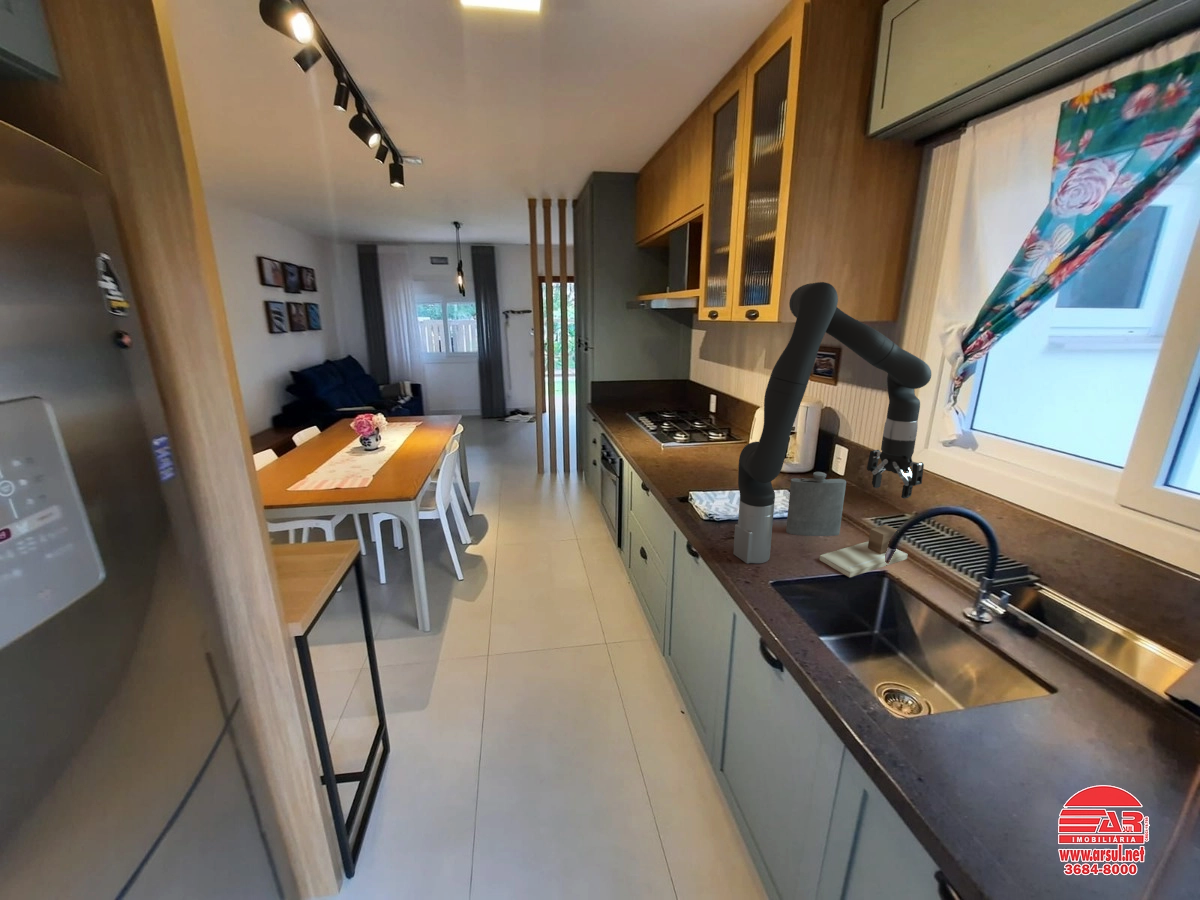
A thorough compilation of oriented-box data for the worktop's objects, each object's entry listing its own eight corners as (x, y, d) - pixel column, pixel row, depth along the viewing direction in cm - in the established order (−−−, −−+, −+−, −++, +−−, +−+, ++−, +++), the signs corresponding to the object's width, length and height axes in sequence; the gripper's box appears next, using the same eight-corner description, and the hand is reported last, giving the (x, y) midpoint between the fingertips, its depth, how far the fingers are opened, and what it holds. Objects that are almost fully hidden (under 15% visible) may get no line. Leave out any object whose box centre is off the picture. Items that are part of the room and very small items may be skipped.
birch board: (849, 577, 128) (850, 572, 127) (819, 560, 136) (820, 554, 136) (906, 558, 136) (907, 553, 135) (874, 543, 145) (875, 538, 144)
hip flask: (837, 530, 153) (845, 471, 147) (841, 536, 149) (850, 475, 143) (784, 529, 155) (790, 470, 149) (788, 535, 151) (794, 475, 145)
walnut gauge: (880, 554, 135) (883, 534, 134) (867, 547, 139) (870, 528, 137) (895, 549, 138) (898, 530, 136) (882, 543, 141) (885, 524, 139)
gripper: (865, 431, 133) (858, 486, 138) (915, 444, 121) (905, 504, 126) (884, 427, 136) (876, 481, 141) (935, 440, 124) (925, 499, 128)
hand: (890, 492), depth 133 cm, fingers open, 8 cm apart
